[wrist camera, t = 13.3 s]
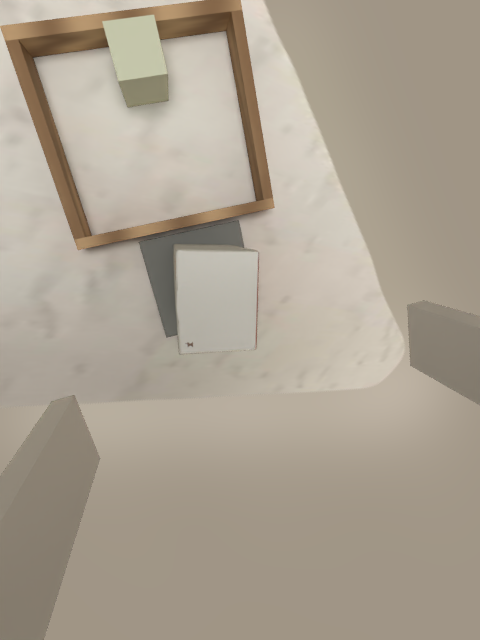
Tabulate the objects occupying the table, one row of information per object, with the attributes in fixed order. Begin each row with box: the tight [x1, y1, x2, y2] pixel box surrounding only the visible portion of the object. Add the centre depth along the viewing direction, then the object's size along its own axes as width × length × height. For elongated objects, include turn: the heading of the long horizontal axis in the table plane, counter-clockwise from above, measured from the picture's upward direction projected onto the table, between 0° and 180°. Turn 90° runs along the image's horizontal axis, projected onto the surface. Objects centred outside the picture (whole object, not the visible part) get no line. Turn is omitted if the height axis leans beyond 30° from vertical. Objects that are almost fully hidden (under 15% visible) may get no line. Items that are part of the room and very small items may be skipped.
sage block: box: [102, 15, 168, 107], centre depth 29 cm, size 4×4×6 cm
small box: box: [173, 244, 259, 355], centre depth 31 cm, size 8×6×13 cm
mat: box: [139, 220, 244, 337], centre depth 38 cm, size 11×11×1 cm
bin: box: [0, 0, 275, 250], centre depth 32 cm, size 20×18×3 cm
